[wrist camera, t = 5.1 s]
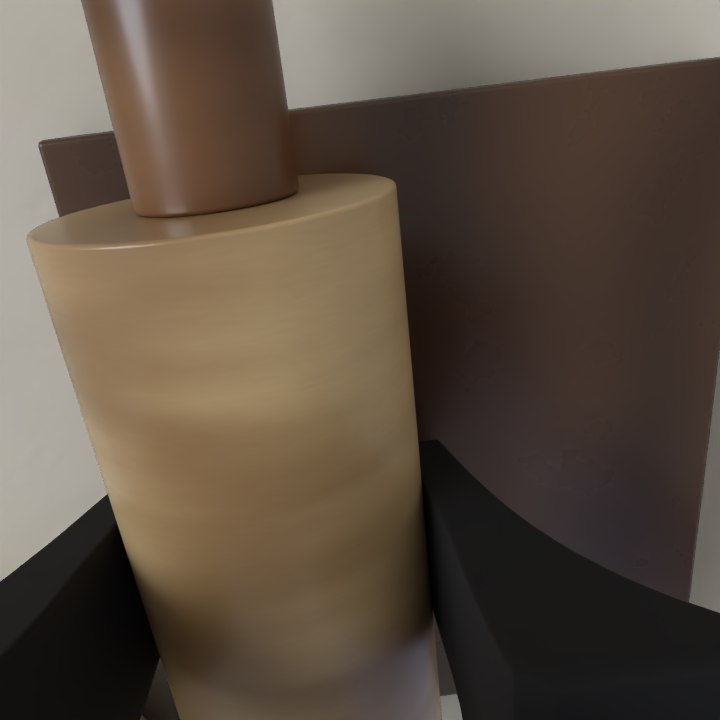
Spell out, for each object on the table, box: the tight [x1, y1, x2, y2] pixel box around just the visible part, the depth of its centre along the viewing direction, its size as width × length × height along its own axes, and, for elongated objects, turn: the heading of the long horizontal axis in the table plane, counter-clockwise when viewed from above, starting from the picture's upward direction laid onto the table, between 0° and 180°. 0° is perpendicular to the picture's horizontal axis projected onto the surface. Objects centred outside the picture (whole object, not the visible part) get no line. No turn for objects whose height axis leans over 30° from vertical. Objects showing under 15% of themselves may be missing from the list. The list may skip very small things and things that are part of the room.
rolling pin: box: [27, 0, 442, 720], centre depth 11 cm, size 5×21×5 cm, turn 6°
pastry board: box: [39, 57, 720, 696], centre depth 14 cm, size 12×14×2 cm
